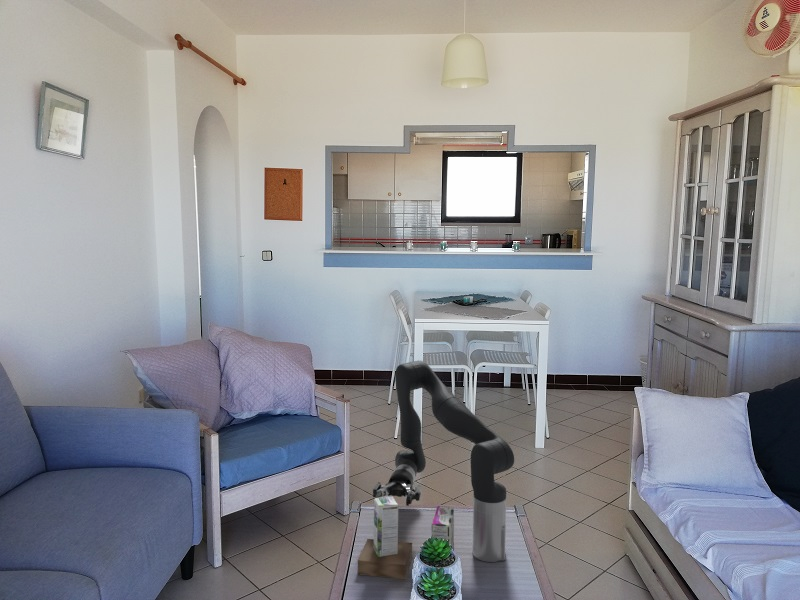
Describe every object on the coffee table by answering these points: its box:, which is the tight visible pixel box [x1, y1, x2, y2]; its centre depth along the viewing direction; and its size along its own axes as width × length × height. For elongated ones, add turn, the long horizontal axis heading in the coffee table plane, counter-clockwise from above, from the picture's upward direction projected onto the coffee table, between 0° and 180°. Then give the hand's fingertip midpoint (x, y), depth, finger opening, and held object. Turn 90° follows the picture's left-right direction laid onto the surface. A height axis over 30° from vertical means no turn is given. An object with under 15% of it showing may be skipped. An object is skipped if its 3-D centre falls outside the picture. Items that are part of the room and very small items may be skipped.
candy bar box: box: [431, 505, 455, 552], centre depth 167 cm, size 11×5×16 cm, turn 168°
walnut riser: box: [357, 538, 413, 580], centre depth 171 cm, size 13×12×4 cm
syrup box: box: [373, 496, 399, 557], centre depth 170 cm, size 6×6×14 cm
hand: (393, 501), depth 181 cm, fingers open, 8 cm apart
